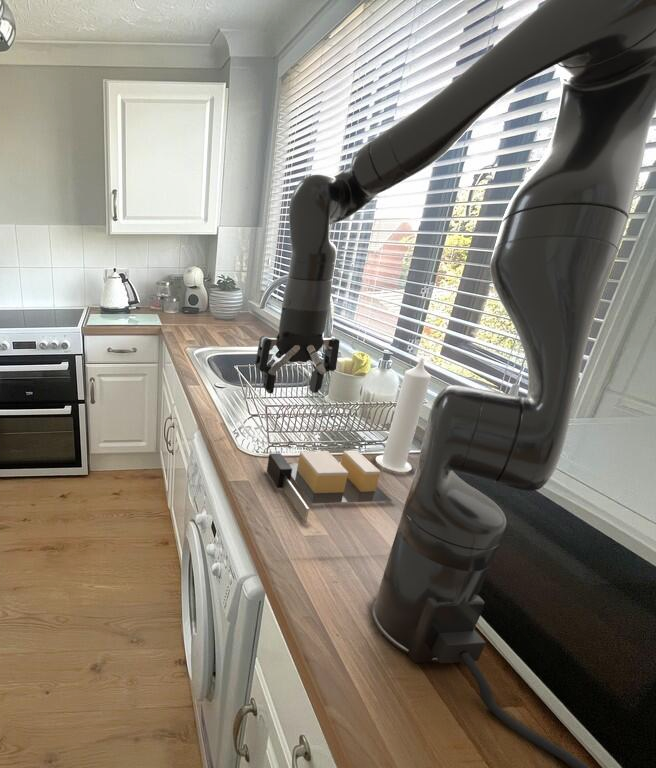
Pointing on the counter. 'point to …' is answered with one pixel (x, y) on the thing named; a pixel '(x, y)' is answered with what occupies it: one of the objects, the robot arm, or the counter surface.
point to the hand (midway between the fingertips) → (291, 391)
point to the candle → (405, 419)
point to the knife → (286, 482)
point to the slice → (360, 471)
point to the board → (348, 495)
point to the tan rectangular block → (322, 472)
